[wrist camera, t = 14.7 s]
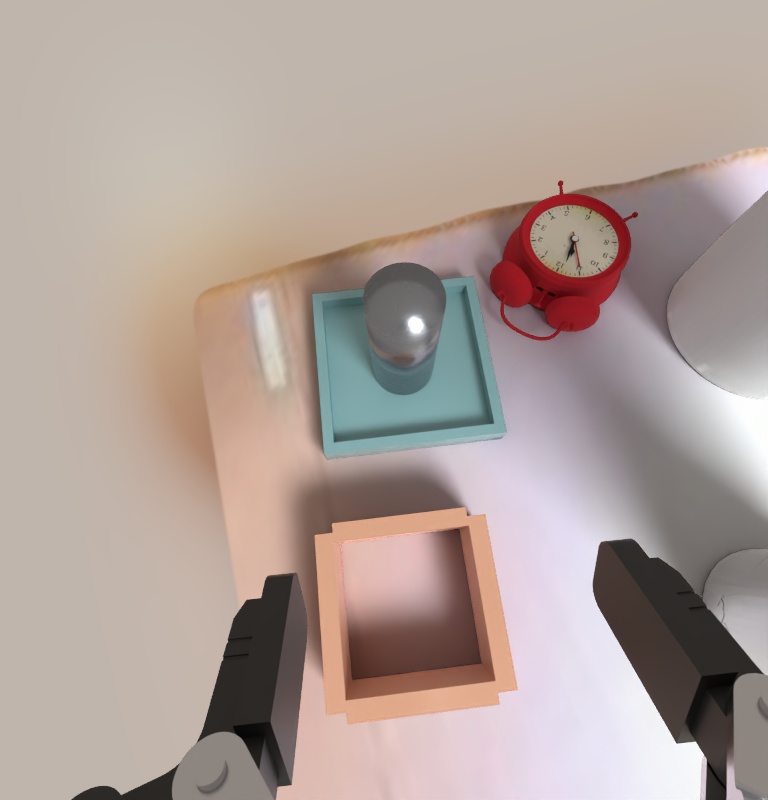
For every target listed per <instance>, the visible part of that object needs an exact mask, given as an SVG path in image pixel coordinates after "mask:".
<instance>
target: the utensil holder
mask: <svg viewBox="0 0 768 800" xmlns="http://www.w3.org/2000/svg"><path fill="white" fill-rule="evenodd" d="M667 321H668V326H669V330H670V334H671V336H672V339H673V341H674V343H675V345H676V347H677V348H678V350H679V351H680V353H681V354H682V356H683V357H684V358H685V359H686V361H687V362H688V363H689V364H690V365H691V366H692V367H693V368H694V369H695V370H696V371H697V372H698V373H699V374H700V375H702V376H703V377H704V378H706V379H707V380H709V381H710V382H712V383H713V384H715V385H717V386H718V387H720V388H722V389H725V390H727V391H729V392H732V393H734V394H737V395H740V396H743V397H748V398H753V399H763V400H768V191H767V192H766V193H765V194H764V195H763V196H762V197H761V198H760V199H759V200H758V201H757V202H755V203H754V204H753V205H752V206H751V207H750V208H749V209H748V210H747V211H746V212H745V213H744V214H743V215H742V216H741V217H740V218H739V219H737V220H736V221H735V222H734V223H733V224H732V225H731V226H730V227H729V228H728V229H727V230H726V231H725V232H724V233H723V234H722V235H721V236H720V237H719V238H718V239H717V240H716V241H715V242H714V243H713V244H712V245H711V246H710V247H709V248H708V249H707V250H706V251H705V252H704V253H703V254H702V255H701V256H700V257H699V258H698V259H697V260H696V261H695V262H694V263H693V265H692V266H691V267H690V268H689V269H688V270H687V271H686V272H685V273H684V274H683V275H682V276H681V277H680V278H679V280H678V281H677V282H676V284H675V285H674V287H673V289H672V291H671V293H670V296H669V300H668V305H667Z"/></svg>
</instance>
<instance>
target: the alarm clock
mask: <svg viewBox="0 0 768 800" xmlns="http://www.w3.org/2000/svg"><path fill="white" fill-rule="evenodd" d="M558 185H559V186H560V195H556V196H552V197H549V198H547V199H545V200H543V201H541V202H539V203H538V204H537V205H535V206H534V207H533V208H532V209H531V210H530V211H529V212H528V213H527V215H526V216H525V217H524V219H523V221H522V223H521V226H519V227H518V228H517V229H516V230H515V231H514V232H513V234H512V235H511V237H510V238H509V240H508V242H507V245H506V247H505V251H504V256H503V261H501V262H499V263H498V264H497V265H496V266H495V267H494V268H493V270H492V272H491V275H490V284H491V287H492V290H493V291H494V293H495V295H496V296H497V297H498V298H499V299H500V300H501V301H502V303H501V309H500V311H501V316H502V318H503V320H504V322H505V323H506V324H507V325H508V326H509V327H510V328H512V329H513V330H515V331H516V332H518V333H520V334H522V335H524V336H526V337H529V338H532V339H535V340H550V339H552V338H554V337H555V336H557V335H558V333H559V332H560V331H561V330H563V331H580V330H584V329H586V328H589V327H590V326H592V325H593V324H594V323H595V322H596V321H597V319H598V317H599V313H600V304H602V303H603V302H604V301H605V300H606V299H607V298H608V297H609V296H610V295H611V294H612V292H613V291H614V290H615V288H616V286H617V284H618V282H619V278H620V273H621V271H622V269H623V268H624V267H625V265H626V263H627V261H628V258H629V254H630V249H631V238H630V233H629V230H628V228H627V226H626V224H625V222H626V221H627V220H629V219H631V218H633V217H634V218H635V217H637V216H638V213H637V212H634V213H633V214H632V215H631V216H629V217H627V218H624V219H622V218H621V217H620V215H619V214H618V213H617V212H616V211H615V210H614V209H612V208H611V207H610V206H608V205H607V204H605V203H603V202H601V201H599V200H597V199H595V198H592V197H589V196H585V195H579V194H563V190H562V185H563V181H559V182H558ZM526 303H530V304H532V305H533V306H535V307H537V308H539V309H542V310H545V316H546V321H547V322H548V323H549V325H550V326H552V327H554V328H556V329H558V330H557V331H556V332H555V333H554V334H553V335H551V336H549V337H536V336H533V335H530V334H527V333H525V332H523V331H521V330H519V329H517V328H516V327H514V326H513V325H512V324H511V323H509V322H508V320H507V319H506V318H505V315H504V304H506V305H508V306H510V307H515V308H518V307H521V306H523V305H525V304H526Z"/></svg>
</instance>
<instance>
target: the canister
mask: <svg viewBox="0 0 768 800" xmlns="http://www.w3.org/2000/svg"><path fill="white" fill-rule="evenodd" d="M363 307H364V313H365V320H366V327H367V333H368V340H369V347H370V353H371V360H372V367H373V372H374V376H375V379H376V380H377V382H378V383H379V385H380V386H381V387H382V388H383V389H385V390H386V391H388V392H390V393H393V394H396V395H410V394H413V393H416V392H418V391H420V390H421V389H423V388H424V387H425V386H426V385H427V383H428V382H429V380H430V378H431V376H432V373H433V368H434V363H435V358H436V353H437V348H438V343H439V338H440V333H441V328H442V323H443V318H444V313H445V308H446V292H445V288H444V286H443V284H442V282H441V280H440V279H439V278H438V277H437V275H435V274H434V273H433V272H432V271H431V270H429V269H427V268H426V267H423V266H421V265H418V264H414V263H396V264H392V265H389V266H386V267H384V268H382V269H381V270H379V271H378V272H376V273H375V274H374V275H373V276H372V277H371V279H370V280H369V281H368V283H367V285H366V287H365V290H364V294H363Z"/></svg>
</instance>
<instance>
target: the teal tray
mask: <svg viewBox="0 0 768 800" xmlns="http://www.w3.org/2000/svg"><path fill="white" fill-rule="evenodd" d="M441 282H442V284H443V286H444V288H445V292H446V308H445V313H444V318H443V323H442V328H441V333H440V338H439V343H438V348H437V353H436V358H435V363H434V368H433V373H432V376H431V378H430V380H429V382H428V383H427V385H426V386H425V387H424V388H423V389H421V390H420V391H418V392H416V393H413V394H410V395H396V394H393V393H390V392H388V391H386V390H385V389H383V388H382V387H381V386H380V385H379V383H378V382H377V380H376V379H375V376H374V372H373V367H372V360H371V353H370V347H369V340H368V333H367V327H366V320H365V313H364V307H363V294H364V290H365V288H363V289H354V290H345V291H336V292H328V293H319V294H312V301H313V315H314V328H315V341H316V355H317V368H318V381H319V395H320V408H321V421H322V434H323V448H324V455H325V456H326V458H327V459H335V458H344V457H352V456H361V455H369V454H377V453H386V452H394V451H402V450H411V449H419V448H427V447H436V446H444V445H452V444H461V443H469V442H478V441H486V440H494V439H501V438H502V437H503V436H504V435H505V434H506V433H507V430H506V426H505V421H504V416H503V412H502V407H501V402H500V397H499V393H498V388H497V383H496V379H495V374H494V369H493V365H492V360H491V355H490V350H489V346H488V341H487V336H486V332H485V327H484V322H483V318H482V313H481V308H480V303H479V299H478V294H477V289H476V285H475V280H474V276H470V277H461V278H452V279H443V280H441Z"/></svg>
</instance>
